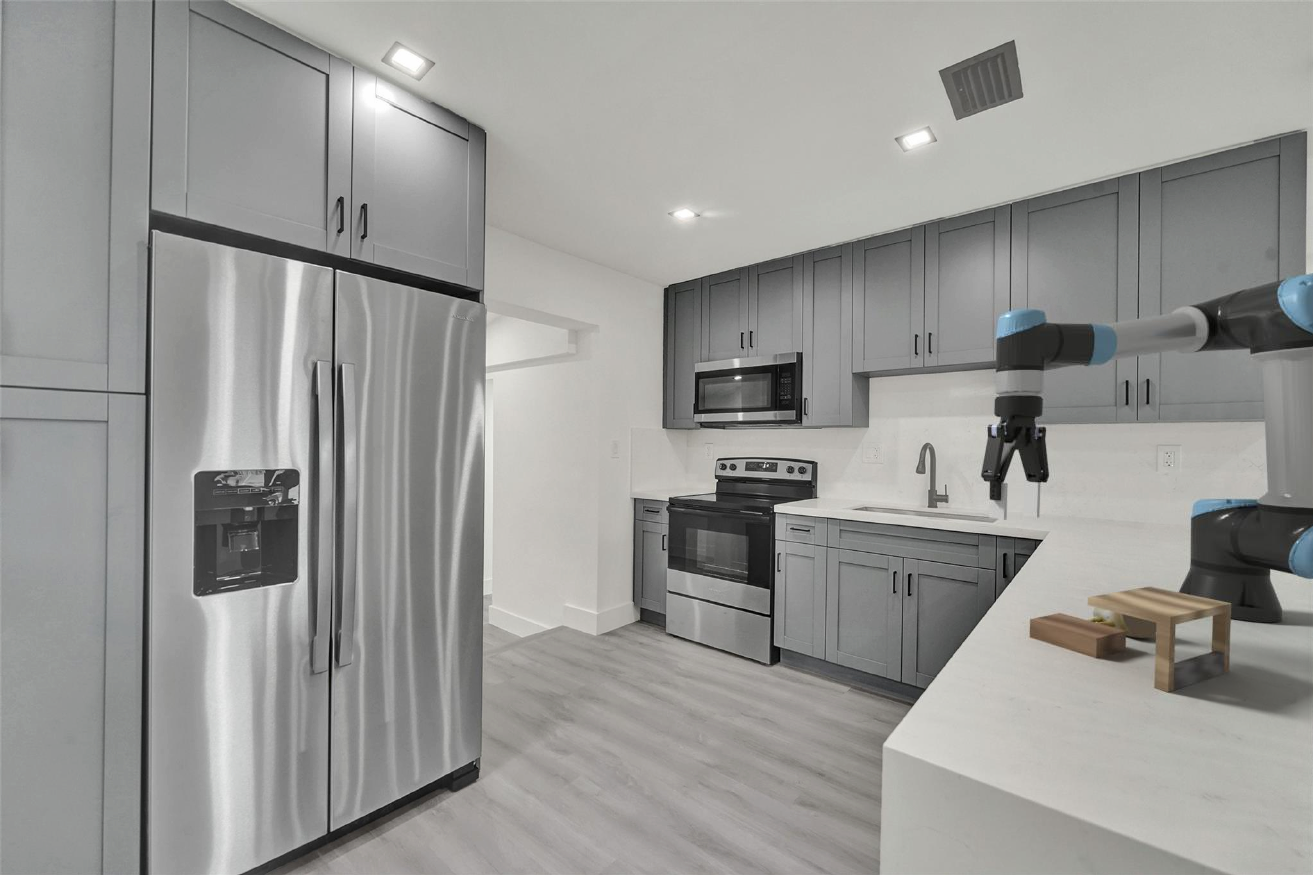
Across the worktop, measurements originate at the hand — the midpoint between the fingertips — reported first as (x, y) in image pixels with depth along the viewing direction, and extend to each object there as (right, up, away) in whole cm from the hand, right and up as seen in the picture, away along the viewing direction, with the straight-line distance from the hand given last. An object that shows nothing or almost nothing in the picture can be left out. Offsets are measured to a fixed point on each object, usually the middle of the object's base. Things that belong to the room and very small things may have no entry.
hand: (1014, 517), depth 105 cm
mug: (+17, -20, -3) cm, 27 cm away
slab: (+4, -20, -10) cm, 23 cm away
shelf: (+9, -20, -20) cm, 29 cm away
